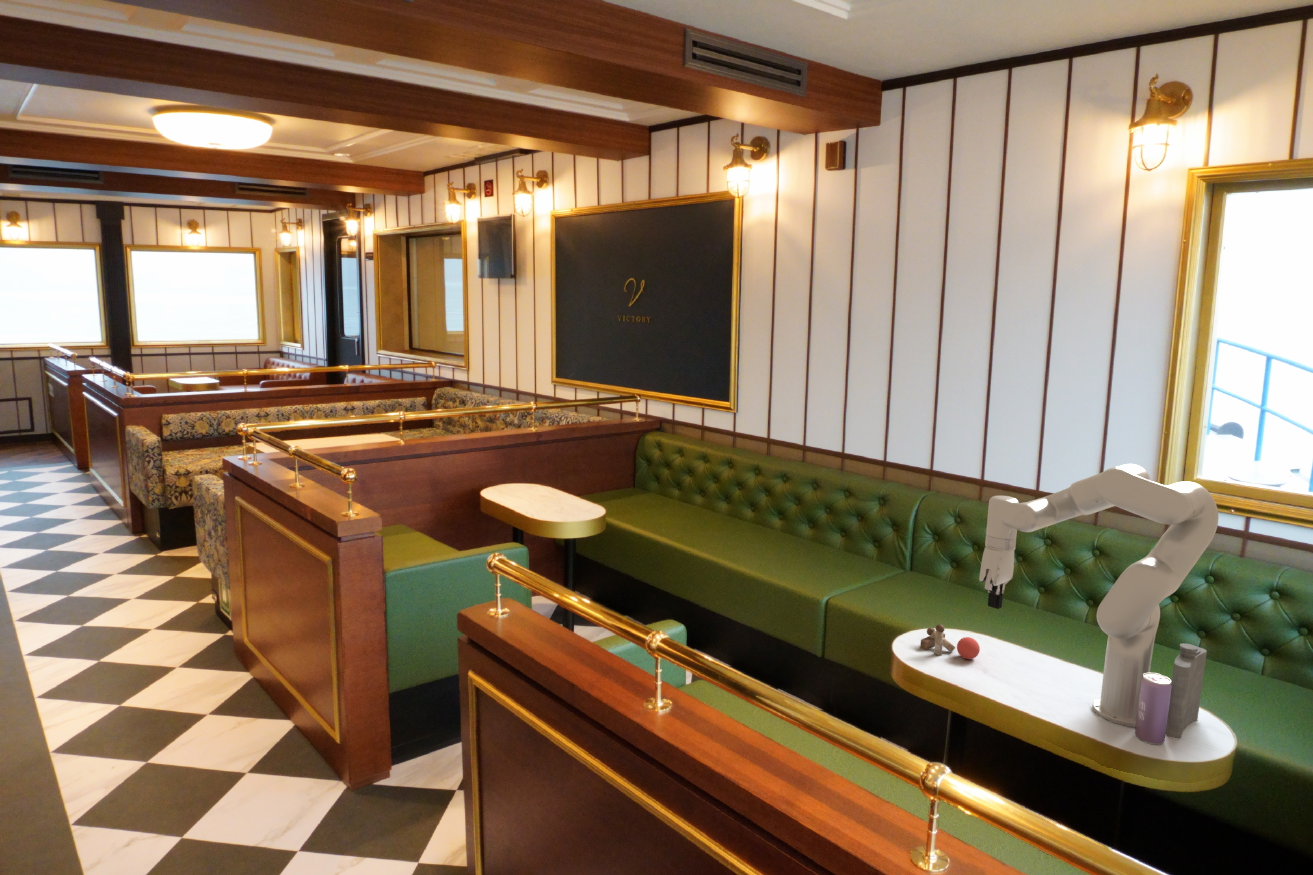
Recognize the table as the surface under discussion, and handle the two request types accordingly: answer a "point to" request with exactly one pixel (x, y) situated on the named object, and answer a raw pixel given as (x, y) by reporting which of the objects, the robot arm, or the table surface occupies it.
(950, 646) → the pin
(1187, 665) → the hip flask
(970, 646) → the ball
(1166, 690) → the beverage can
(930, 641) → the stopper wall
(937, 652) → the pin
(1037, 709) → the table surface
